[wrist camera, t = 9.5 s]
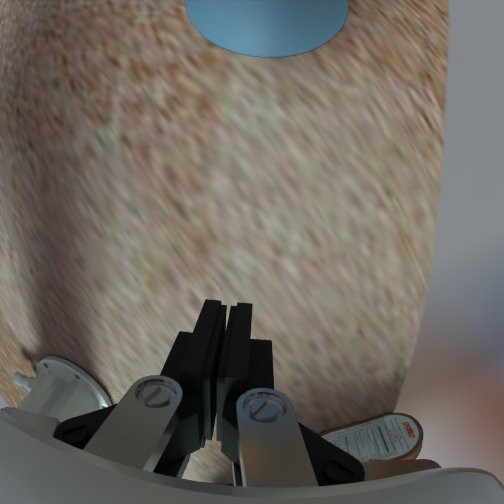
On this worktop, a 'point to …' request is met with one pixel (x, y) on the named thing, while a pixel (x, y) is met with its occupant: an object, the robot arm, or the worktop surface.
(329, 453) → the robot arm
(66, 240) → the worktop surface
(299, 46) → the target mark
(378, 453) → the tin
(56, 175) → the worktop surface
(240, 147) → the worktop surface
